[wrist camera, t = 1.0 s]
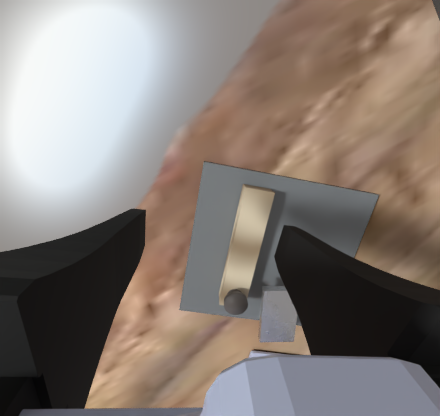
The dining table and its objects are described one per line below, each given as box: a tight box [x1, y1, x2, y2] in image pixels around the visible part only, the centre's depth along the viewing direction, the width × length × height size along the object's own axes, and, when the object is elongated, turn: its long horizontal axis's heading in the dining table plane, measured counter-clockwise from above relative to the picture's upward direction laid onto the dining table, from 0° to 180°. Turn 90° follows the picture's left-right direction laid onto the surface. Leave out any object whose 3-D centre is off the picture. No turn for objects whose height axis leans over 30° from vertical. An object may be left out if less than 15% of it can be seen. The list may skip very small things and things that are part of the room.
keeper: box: [258, 286, 297, 342], centre depth 26 cm, size 4×7×4 cm, turn 179°
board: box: [179, 161, 379, 326], centre depth 26 cm, size 19×20×1 cm
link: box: [219, 184, 275, 315], centre depth 23 cm, size 14×3×4 cm, turn 169°
